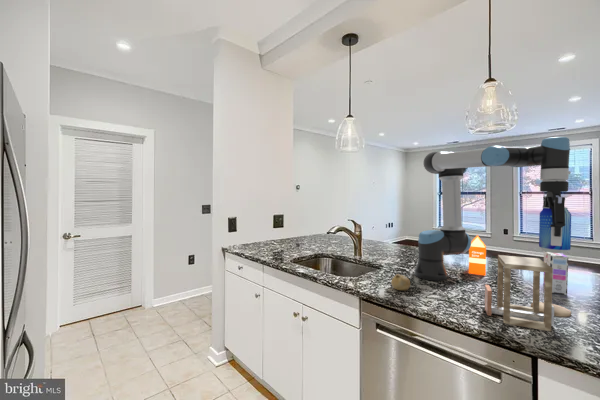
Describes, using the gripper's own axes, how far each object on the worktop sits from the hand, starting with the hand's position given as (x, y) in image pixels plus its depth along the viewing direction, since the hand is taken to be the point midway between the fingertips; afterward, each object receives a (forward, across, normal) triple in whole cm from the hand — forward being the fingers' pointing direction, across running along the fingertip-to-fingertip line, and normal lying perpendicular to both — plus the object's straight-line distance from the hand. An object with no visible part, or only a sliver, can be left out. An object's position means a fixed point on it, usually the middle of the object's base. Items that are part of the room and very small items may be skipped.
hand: (551, 243), depth 101 cm
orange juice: (+26, +44, +19) cm, 55 cm away
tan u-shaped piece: (+24, -13, +12) cm, 30 cm away
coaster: (+25, 0, 0) cm, 25 cm away
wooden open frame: (+25, -13, +11) cm, 30 cm away
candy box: (+25, +29, -9) cm, 40 cm away
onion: (+25, -2, +52) cm, 58 cm away
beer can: (+3, 0, -1) cm, 3 cm away
